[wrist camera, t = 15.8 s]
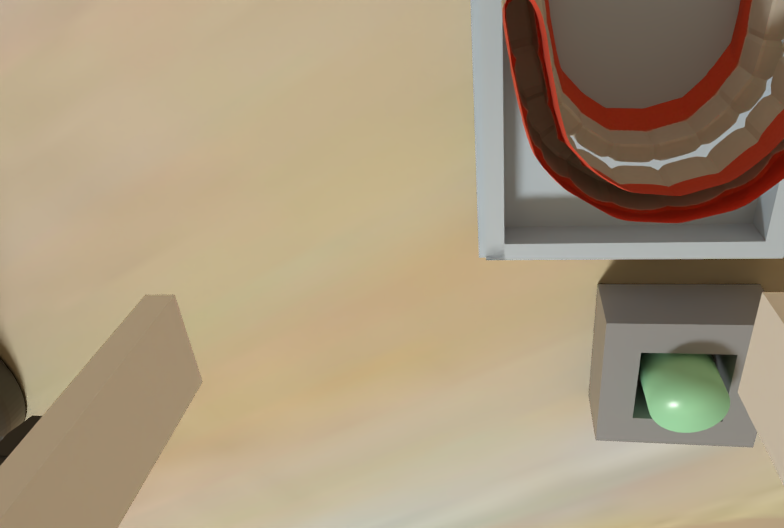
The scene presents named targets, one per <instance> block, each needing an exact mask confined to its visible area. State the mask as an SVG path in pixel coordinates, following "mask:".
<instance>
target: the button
mask: <svg viewBox="0 0 784 528" xmlns="http://www.w3.org/2000/svg"><path fill="white" fill-rule="evenodd" d="M639 376H640V380H641V384H642V387H643V391H644V395H645V398H646V402H647V406H648V410H649V413H650V415H651V417H652V419H653V420H654V421H655V422H656V423H657V424H658V425H660V426H661V427H663V428H665V429H667V430H670V431H674V432H680V433H692V432H699V431H702V430H706V429H708V428H710V427H712V426H714V425H716V424H717V423H719V422H720V421H721V420H722V419H723V418H724V417H725V416H726V414H727V413H728V411H729V408H730V397H729V394H728V392H727V390H726V387H725V385H724V383H723V380H722V378H721V376H720V374H719V371H718V369H717V367H716V364H715V362H714V360H713V357H712V355H711V354H678V353H641V357H640V365H639Z"/></svg>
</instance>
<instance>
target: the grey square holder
mask: <svg viewBox="0 0 784 528" xmlns="http://www.w3.org/2000/svg"><path fill="white" fill-rule="evenodd" d="M762 292H765V291H764V290H763V288H762V287H761V285H760V284H598V286H597V298H596V310H595V323H594V335H593V348H592V360H591V373H590V385H589V401H590V408H591V414H592V420H593V427H594V433H595V439H596V440H601V441H622V442H644V443H666V444H688V445H710V446H732V447H753V446H754V442H755V438H756V435H757V431H756V429H755V427H754V425H753V423H752V421H751V419H750V417H749V415H748V413H747V410H746V408H745V406H744V404H743V402H742V400H741V398H740V396H739V394H738V389H739V385H740V381H741V376H742V372H743V368H744V364H745V360H746V356H747V352H748V348H749V344H750V340H751V336H752V332H753V328H754V324H755V319H756V315H757V311H758V307H759V303H760V299H761V295H762ZM641 353H678V354H711V355H712V357H713V360H714V362H715V364H716V367H717V369H718V371H719V374H720V376H721V378H722V380H723V383H724V385H725V387H726V390H727V392H728V394H729V397H730V408H729V411H728V413H727V414H726V416H725V417H724V418H723V419H722V420H721V421H720V422H719V423H717V424H716V425H714V426H712V427H710V428H708V429H706V430H702V431H699V432H692V433H680V432H674V431H670V430H667V429H665V428H663V427H661V426H660V425H658V424H657V423H656V422H655V421H654V420H653V419H652V417H651V415H650V413H649V410H648V406H647V402H646V398H645V395H644V391H643V387H642V384H641V380H640V376H639V374H638V373H639V365H640V357H641Z"/></svg>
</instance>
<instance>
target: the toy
mask: <svg viewBox="0 0 784 528" xmlns="http://www.w3.org/2000/svg"><path fill="white" fill-rule="evenodd" d="M501 6H502V14H503V26H504V33H505V39H506V45H507V50H508V56H509V60H510V68H511V74H512V79H513V84H514V89H515V93H516V98H517V102H518V106H519V109H520V113H521V116H522V121H523V125H524V129H525V132H526V135H527V138H528V141H529V144H530V147H531V149H532V151H533V154H534V155H535V157H536V158H537V160H538V161H539V162H540V164H541V165H542V167H543V168H544V169H545V170H546V171H547V172H548V174H549V175H550V176H551V177H552V178H553V179H554V180H555V181H556V182H557V183H558V184H559V185H561V186H562V187H563V188H564V189H565V190H567V191H568V192H570V193H572V194H573V195H575V196H577V197H578V198H580V199H582V200H584V201H585V202H587V203H589V204H591V205H592V206H594V207H596V208H598V209H599V210H601V211H603V212H605V213H606V214H608V215H610V216H612V217H615V218H617V219H621V220H625V221H634V222H655V223H683V222H688V221H692V220H696V219H701V218H705V217H709V216H713V215H717V214H722V213H726V212H729V211H733V210H736V209H738V208H741V207H743V206H745V205H747V204H749V203H751V202H752V201H754V200H755V199H757V198H758V197H759V196H761V195H762V194H764V193H765V192H766V191H768V190H769V189H771V188H772V187H773V186H775V185H776V184H777V183H779V182H780V181H782V180H783V179H784V56H783V54H784V41H783V43H782V40H783V39H784V0H740V5H739V11H738V16H737V20H736V24H735V28H734V32H733V36H732V40H731V43H730V44H729V46H728V47H727V48H726V50H725V51H724V52H723V54H722V55H721V56H720V58H719V59H718V60H717V62H716V63H715V65H714V66H713V67H712V68H711V69H710V70H709V71H708V73H707V75H706V76H705V77H704V78H703V79H702V80H701V81H700V82H699V83H698V84H696V85H695V86H694V87H693V88H692V89H691V90H690V91H689V92H688V93H687V94H686V95H684V96H683V97H681V98H678V99H674V100H671V101H667V102H664V103H660V104H657V105H654V106H650V107H647V108H605V107H603V106H602V105H600V104H599V103H597V102H596V101H594V100H593V99H591V98H590V97H588V96H586V95H585V94H584V93H583V92H581V91H580V89H579V88H578V87H577V86H576V85H575V84H574V83H573V82H572V81H571V80H570V78H569V77H568V76H567V75H566V74H565V73H564V72H563V70H562V69H561V66H560V62H559V58H558V54H557V50H556V45H555V39H554V34H553V28H552V23H551V17H550V7H549V0H502V1H501ZM771 77H773V78H772V82H771V94H770V95H768V96H766V97H764V98H762V99H761V100H760V101H759V99H760V98H761V97H762V96H763V94H764V92H765V90H766V83H767V80H768V79H770V78H771ZM758 101H759V102H758ZM757 102H758V103H757ZM756 103H757V104H756ZM755 104H756V106H755ZM754 106H755V107H754ZM753 107H754V108H753ZM752 108H753V109H752ZM750 109H752V110H751V112H750V113H749V114H748V116H747V117H746V120H745V127H743V128H740V129H737V130H735V131H733V132H732V133H730V134H729V135H728V136H726V137H725V138H724V139H723V140H722V141H720V142H719V143H718V144H717V145H716V146H714V147H713V148H712V149H711V150H710V152H709V154H708V155H707V157H699V156H696V157H690V158H686V159H682V160H679V161H675V162H671V163H668V164H665V165H663V166H662V167H661V168H660V169H659V170H656V169H654V168H652V167H648V166H628V165H624V166H617V167H614V168H612V169H611V168H610V167H609V166H608V165H607V164H606V163H605V162H603V161H602V160H600V159H599V158H597V157H595V156H594V155H592V154H590V153H589V152H587V151H585V150H583V149H577V147H576V145H575V142H574V141H573V139H572V138H571V137H570V136H574V138H575V139H576V141H577V142H578V143H579V144H580V145H581V146H583V147H584V148H586V149H588V150H589V151H591V152H592V153H594V154H596V155H598V156H600V157H607V156H608V157H609V158H611V159H613V160H615V161H620V162H640V163H641V162H650V161H652V160H653V159H655V160H660V161H661V160H667V159H671V158H675V157H678V156H682V155H685V154H689V153H691V152H694V151H696V150H697V149H698V148H699V147H700V146H701V145H704V144H710V143H711V142H713V141H714V140H716V139H717V138H719V137H720V136H721V135H722V134H723V133H725V132H726V131H727V130H728V129H729V128H731V127H732V126H733V125H734V124H735V123H736V121H737V119H738V117H739V114H741V113H744V112H747V111H749V110H750Z"/></svg>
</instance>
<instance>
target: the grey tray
mask: <svg viewBox="0 0 784 528" xmlns="http://www.w3.org/2000/svg"><path fill="white" fill-rule="evenodd" d="M501 1H502V0H471V27H472V57H473V88H474V118H475V149H476V179H477V210H478V240H479V257H486V260H595V259H775V258H783V257H784V179H783V180H782V181H780V182H779V183H777V184H776V185H775V186H773V187H772V188H771V189H769V190H768V191H766V192H765V193H764V194H762V195H761V196H759V197H758V198H757V199H755V200H754V201H752V202H751V203H749V204H747V205H745V206H743V207H741V208H738V209H736V210H733V211H729V212H726V213H722V214H717V215H713V216H709V217H705V218H701V219H696V220H692V221H688V222H683V223H655V222H634V221H625V220H621V219H617V218H615V217H612V216H610V215H608V214H606V213H605V212H603V211H601V210H599V209H598V208H596V207H594V206H592V205H591V204H589V203H587V202H585V201H584V200H582V199H580V198H578V197H577V196H575V195H573V194H572V193H570V192H568V191H567V190H565V189H564V188H563V187H562V186H561V185H559V184H558V183H557V182H556V181H555V180H554V179H553V178H552V177H551V176H550V175H549V174H548V172H547V171H546V170H545V169H544V168H543V167H542V165H541V164H540V162H539V161H538V160H537V158H536V157H535V155H534V154H533V151H532V149H531V147H530V144H529V141H528V138H527V135H526V132H525V129H524V125H523V121H522V116H521V113H520V109H519V106H518V102H517V98H516V93H515V89H514V84H513V79H512V74H511V68H510V60H509V56H508V50H507V45H506V39H505V33H504V26H503V14H502V6H501ZM739 5H740V0H549V7H550V17H551V23H552V28H553V34H554V39H555V45H556V50H557V54H558V58H559V62H560V66H561V69H562V70H563V72H564V73H565V74H566V75H567V76H568V77H569V78H570V80H571V81H572V82H573V83H574V84H575V85H576V86H577V87H578V88H579V89H580V91H581V92H583V93H584V94H585V95H586V96H588V97H590V98H591V99H593V100H594V101H596V102H597V103H599V104H600V105H602V106H603V107H605V108H647V107H650V106H654V105H657V104H660V103H664V102H667V101H671V100H674V99H678V98H681V97H683V96H684V95H686V94H687V93H688V92H689V91H690V90H691V89H692V88H693V87H694V86H695V85H696V84H698V83H699V82H700V81H701V80H702V79H703V78H704V77H705V76H706V75H707V73H708V71H709V70H710V69H711V68H712V67H713V66H714V65H715V63H716V62H717V60H718V59H719V58H720V56H721V55H722V54H723V52H724V51H725V50H726V48H727V47H728V46H729V44H730V43H731V40H732V36H733V32H734V28H735V24H736V20H737V16H738V11H739ZM783 41H784V39H783V40H782V43H783ZM783 56H784V54H783ZM772 78H773V77H771V78H770V79H768V80H767V83H766V90H765V92H764V94H763V96H762V97H761V98H760V99H759V101H760V100H761V99H762V98H764V97H766V96H768V95H770V94H771V82H772ZM759 101H758V102H759ZM758 102H757V103H758ZM757 103H756V104H757ZM756 104H755V106H756ZM755 106H754V107H755ZM754 107H753V108H754ZM753 108H752V109H753ZM752 109H750V110H749V111H747V112H744V113H741V114H739V117H738V119H737V121H736V123H735V124H734V125H733V126H732V127H731V128H729V129H728V130H727V131H726V132H725V133H723V134H722V135H721V136H720V137H719V138H717V139H716V140H714V141H713V142H711V143H710V144H704V145H701V146H700V147H699V148H698V149H697V150H696V151H694V152H691V153H689V154H685V155H682V156H678V157H675V158H671V159H667V160H661V161H660V160H655V159H653V160H652V161H650V162H641V163H640V162H620V161H615V160H613V159H611V158H609V157H608V156H607V157H600V156H598V155H596V154H594V153H592V152H591V151H589V150H588V149H586V148H584V147H583V146H581V145H580V144H579V143H578V142H577V141H576V139H575V138H574V136H570V137H571V138H572V139H573V141H574V142H575V145H576V147H577V149H583V150H585V151H587V152H589V153H590V154H592V155H594V156H595V157H597V158H599V159H600V160H602V161H603V162H605V163H606V164H607V165H608V166H609V167H610V168H611V169H612V168H614V167H617V166H624V165H628V166H648V167H652V168H654V169H656V170H659V169H660V168H661V167H662V166H663V165H665V164H668V163H671V162H675V161H679V160H682V159H686V158H690V157H696V156H699V157H707V155H708V154H709V152H710V150H711V149H712V148H713V147H714V146H716V145H717V144H718V143H719V142H720V141H722V140H723V139H724V138H725V137H726V136H728V135H729V134H730V133H732V132H733V131H735V130H737V129H740V128H743V127H745V120H746V117H747V116H748V114H749V113H750V112H751V110H752Z"/></svg>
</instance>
